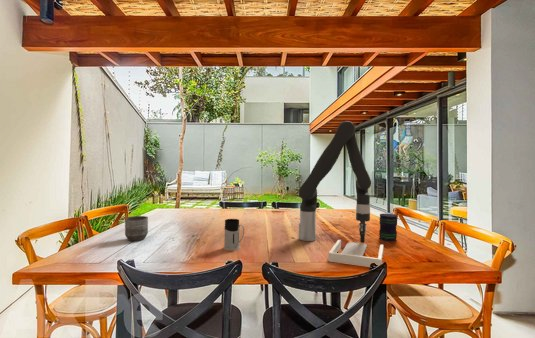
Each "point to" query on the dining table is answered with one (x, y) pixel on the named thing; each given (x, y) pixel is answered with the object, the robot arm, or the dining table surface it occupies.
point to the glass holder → (232, 235)
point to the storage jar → (388, 227)
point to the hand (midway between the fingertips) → (362, 242)
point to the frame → (353, 257)
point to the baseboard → (354, 248)
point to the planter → (136, 228)
